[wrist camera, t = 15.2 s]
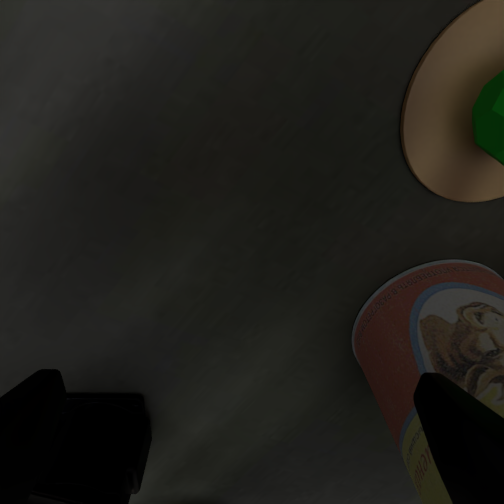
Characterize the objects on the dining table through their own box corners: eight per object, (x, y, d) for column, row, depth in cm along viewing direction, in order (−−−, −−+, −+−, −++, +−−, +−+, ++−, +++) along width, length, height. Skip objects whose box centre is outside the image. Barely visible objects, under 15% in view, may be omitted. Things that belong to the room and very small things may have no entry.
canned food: (504, 232, 20) (809, 397, 9) (514, 354, 25) (723, 554, 14) (331, 297, 22) (424, 501, 11) (372, 400, 27) (464, 610, 16)
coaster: (379, 196, 19) (382, 198, 18) (434, -25, 14) (439, -28, 14) (542, 204, 19) (547, 206, 19) (643, -5, 15) (653, -8, 15)
